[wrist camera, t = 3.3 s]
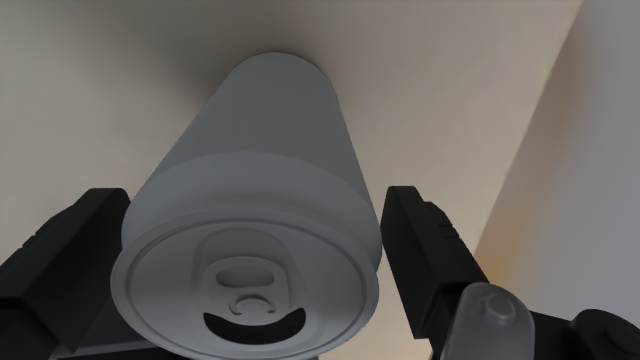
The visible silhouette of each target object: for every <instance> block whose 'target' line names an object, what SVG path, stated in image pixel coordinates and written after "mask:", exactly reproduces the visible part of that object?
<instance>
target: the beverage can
mask: <svg viewBox="0 0 640 360" xmlns="http://www.w3.org/2000/svg"><path fill="white" fill-rule="evenodd" d="M121 240H122V249H123V250H122V251H121V253H120V255H119V256H118V258H117V260H116V261H115V264H114V266H113V269H112V273H111V279H110V288H111V294H112V298H113V301H114V303H115V305H116V307H117V309H118V311H119V313H120V314H121V316H122V317H123V318H124V319H125V321H126V322H127V323H128V324H129V325H130V326H131V327H132V328H133V329H134V330H136V331H137V332H138V333H139V334H141V335H142V336H143V337H145V338H146V339H148V340H149V341H151V342H153V343H154V344H156V345H158V346H160V347H162V348H164V349H166V350H169V351H171V352H173V353H176V354H179V355H182V356H185V357H188V358H191V359H195V360H305V359H309V358H312V357H315V356H318V355H321V354H323V353H326V352H328V351H330V350H332V349H334V348H336V347H338V346H340V345H342V344H343V343H345V342H347V341H348V340H349V339H351V338H352V337H353V336H355V335H356V334H357V333H358V332H359V331H360V330H361V329H362V328H363V327H364V326H365V325H366V324H367V323H368V321H369V320H370V318H371V317H372V315H373V313H374V311H375V309H376V306H377V303H378V299H379V284H378V278H377V274H376V272H377V270H378V267H379V264H380V261H381V257H382V234H381V230H380V226H379V223H378V220H377V217H376V214H375V211H374V208H373V205H372V202H371V199H370V196H369V193H368V190H367V187H366V184H365V181H364V178H363V175H362V172H361V169H360V166H359V163H358V160H357V157H356V154H355V151H354V148H353V145H352V142H351V139H350V136H349V133H348V130H347V127H346V124H345V121H344V118H343V115H342V112H341V109H340V106H339V103H338V100H337V97H336V95H335V92H334V90H333V87H332V86H331V84H330V82H329V81H328V79H327V78H326V77H325V75H324V74H323V73H322V72H321V71H320V70H319V69H318V68H316V67H315V66H314V65H313V64H311V63H310V62H308V61H306V60H304V59H302V58H300V57H298V56H295V55H291V54H287V53H279V52H271V53H263V54H259V55H256V56H253V57H250V58H248V59H246V60H245V61H243V62H241V63H240V64H239V65H237V66H236V67H235V68H234V69H233V70H232V71H231V72H230V73H229V75H228V76H227V77H226V79H225V80H224V81H223V82H222V84H221V85H220V86H219V88H218V89H217V90H216V92H215V93H214V94H213V95H212V97H211V98H210V99H209V101H208V102H207V103H206V105H205V106H204V107H203V108H202V110H201V111H200V112H199V114H198V115H197V116H196V117H195V119H194V120H193V121H192V123H191V124H190V125H189V127H188V128H187V129H186V130H185V132H184V133H183V134H182V136H181V137H180V138H179V140H178V141H177V142H176V143H175V145H174V146H173V147H172V149H171V150H170V151H169V153H168V154H167V155H166V156H165V158H164V159H163V160H162V162H161V163H160V164H159V166H158V167H157V168H156V169H155V171H154V172H153V173H152V175H151V176H150V177H149V179H148V180H147V181H146V182H145V184H144V185H143V186H142V188H141V189H140V190H139V192H138V193H137V194H136V196H135V197H134V198H133V200H132V201H131V203H130V205H129V207H128V209H127V211H126V214H125V216H124V220H123V224H122V232H121Z"/></svg>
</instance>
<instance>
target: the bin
mask: <svg viewBox="0 0 640 360" xmlns="http://www.w3.org/2000/svg"><path fill="white" fill-rule="evenodd" d="M48 360H195V359H191V358H188V357H185V356H182V355H179V354H176V353H173V352H171V351H169V350H166V349H164V348H162V347H160V346H158V345H156V344H154V343H153V342H151V341H149V340H148V339H146V338H145V337H143V336H142V335H141V334H139V333H138V332H137V331H136V330H134V329H133V328H132V327H131V326H130V325H129V324H128V323H127V322H126V321H125V319H124V318H123V317H122V316H121V314H120V313H119V311H118V309H117V307H116V305H115V303H114V301H113V298H112V294H110V295H109V297H108V299H107V301H106V302H105V304H104V306H103V307H102V309H101V311H100V312H99V314H98V316H97V317H96V319H95V321H94V322H93V324H92V326H91V327H90V329H89V331H88V332H87V334H86V336H85V337H84V339H83V341H82V342H81V344H80V346H79V347H78V349H77V351H76V352H75V354H74V355H65V356H50V358H49V359H48ZM305 360H319V358H318V356H315V357H312V358H309V359H305Z"/></svg>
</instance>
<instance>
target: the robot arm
mask: <svg viewBox="0 0 640 360" xmlns="http://www.w3.org/2000/svg"><path fill="white" fill-rule="evenodd" d="M130 203H131V202H130V199H129V197H128V195H127V193H126V191H125V190H124V189H122V188H92V189H89V190H88V191H87V192H86V193H85V194H84V195H83V196H82V197H81V198H80V199H78V200H77V201H76V202H75V203H74V204H73V205H72V206H70V207H68V208H66V209H65V210H63V211H61V212H60V213H58V214H56V215H55V216H53V217H51V218H50V219H49V220H48V221H47V222H46V223H45V224H44V225H43V226H42V227H41V228H40V229H39V230H37V231H36V232H35V233H36V234H35V236H31V237H30V238H29V239H28V240H27V241H26V242H25V243H24V244H23V245H22V246H23V247H22V248H19V249H18V250H17V251H15V252H14V253H13V254H12V255H11V256H10V257H9V258H8V259H7V260H6V261H5V262H4V263H3V264H2V265H1V266H0V360H48V359H49V358H50V356H65V355H74V354H75V352H76V351H77V349H78V347H79V346H80V344H81V342H82V341H83V339H84V337H85V336H86V334H87V332H88V331H89V329H90V327H91V326H92V324H93V322H94V321H95V319H96V317H97V316H98V314H99V312H100V311H101V309H102V307H103V306H104V304H105V302H106V301H107V299H108V297H109V295H110V294H111V288H110V279H111V273H112V269H113V266H114V264H115V261H116V260H117V258H118V256H119V255H120V253H121V251H122V250H123V249H122V240H121V232H122V224H123V220H124V216H125V214H126V211H127V209H128V207H129V205H130ZM380 230H381V234H382V243H383V246H384V249H385V252H386V255H387V258H388V261H389V264H390V267H391V270H392V273H393V276H394V279H395V282H396V286H397V289H398V292H399V295H400V298H401V301H402V304H403V307H404V310H405V313H406V316H407V319H408V322H409V325H410V328H411V331H412V334H413V337H414V339H427V338H429V341H430V344H431V346H432V349H433V351H432V353H431V355H430V358H429V360H640V329H639V328H637V327H636V326H634V325H633V324H631V323H630V322H628V321H627V320H625V319H623V318H621V317H619V316H617V315H614V314H612V313H609V312H606V311H602V310H598V309H587V310H584V311H582V312H580V313H579V314H578V315H577V316H576V317H575V318H574V319H573V320H572V321H568V320H565V319H561V318H557V317H553V316H549V315H545V314H541V313H537V312H533V311H530V310H528V309H527V307H526V306H525V305H524V304H523V303H522V302H521V301H520V300H519V299H518V298H517V297H516V296H514V295H513V294H512V293H510V292H509V291H507V290H505V289H503V288H501V287H499V286H496V285H493V284H490V282H489V281H488V279H487V278H486V276H485V275H484V273H483V272H482V270H481V268H480V267H479V266H478V264H477V262H476V261H475V259H474V258H473V256H472V254H471V253H470V251H469V250H468V248H467V247H466V245H465V244H464V242H463V241H462V239H460V238H459V234H458V233H457V231H456V230H455V228H453V227H452V224H451V222H450V220H449V219H448V217H447V216H446V214H445V213H444V212H443V211H442V210H441V209H440V208H438V207H437V206H436V205H435V204H433V203H432V202H424V201H423V199H422V198H421V196H420V194H419V192H418V191H417V189H416V188H415V187H414V186H390V187H389V188H388V190H387V194H386V199H385V204H384V208H383V213H382V218H381V223H380Z"/></svg>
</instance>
